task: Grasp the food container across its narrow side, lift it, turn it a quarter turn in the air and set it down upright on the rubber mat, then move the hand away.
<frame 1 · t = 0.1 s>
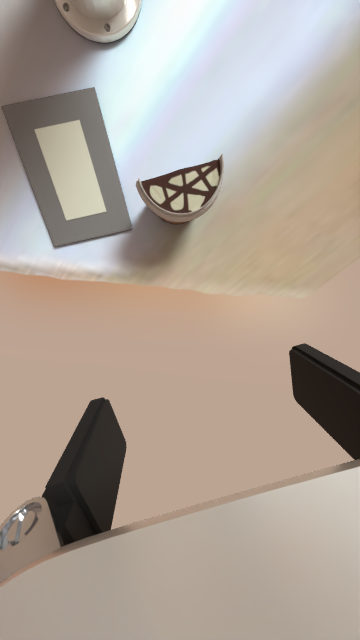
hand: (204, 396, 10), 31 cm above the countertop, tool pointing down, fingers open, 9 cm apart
mat: (74, 174, 33), on the countertop
food container: (179, 212, 36), on the countertop
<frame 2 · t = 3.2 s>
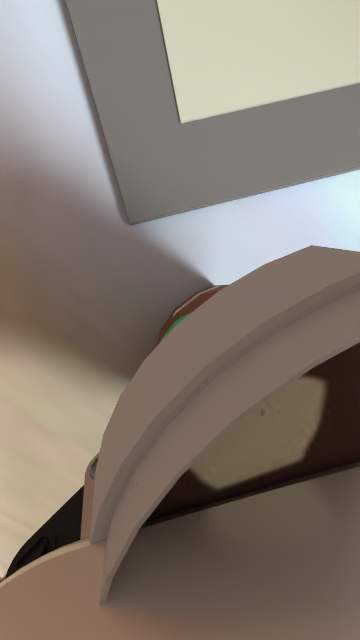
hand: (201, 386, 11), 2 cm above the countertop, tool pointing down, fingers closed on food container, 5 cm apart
mat: (302, 4, 9), on the countertop
food container: (185, 367, 13), on the countertop, touching gripper
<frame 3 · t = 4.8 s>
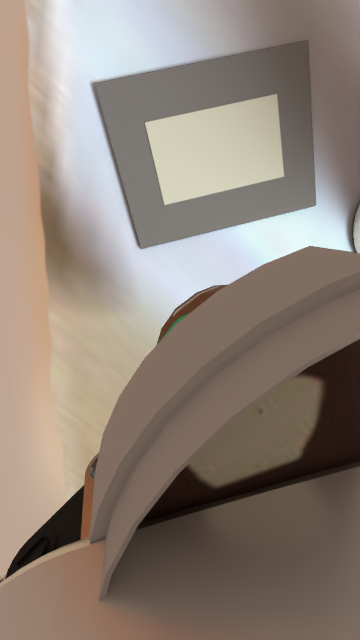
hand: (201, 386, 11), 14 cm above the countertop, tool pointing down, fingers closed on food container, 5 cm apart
mat: (217, 154, 20), on the countertop
food container: (185, 367, 13), point 11 cm above the countertop, touching gripper
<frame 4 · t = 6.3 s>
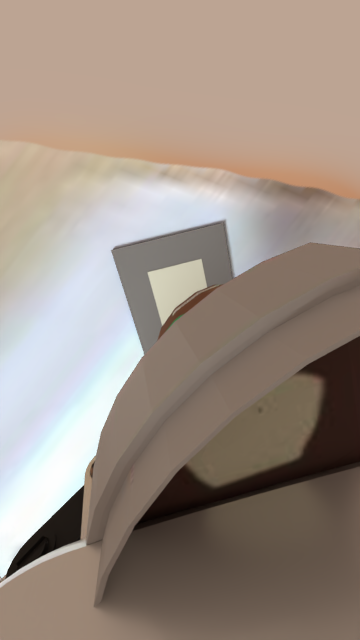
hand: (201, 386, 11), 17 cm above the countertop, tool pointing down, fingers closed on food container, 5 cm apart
mat: (185, 313, 27), on the countertop
food container: (185, 366, 13), point 15 cm above the countertop, touching gripper
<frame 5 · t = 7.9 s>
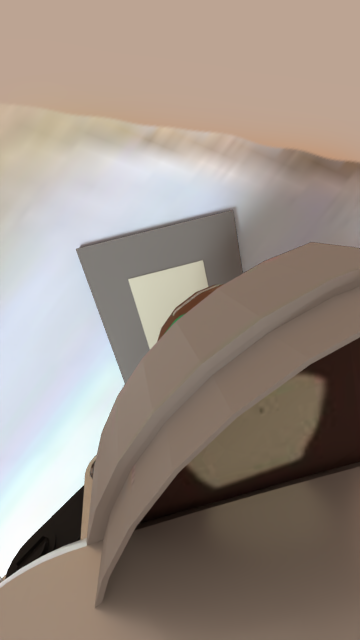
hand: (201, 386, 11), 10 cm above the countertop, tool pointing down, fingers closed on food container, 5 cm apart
mat: (181, 333, 20), on the countertop
food container: (185, 366, 13), point 7 cm above the countertop, touching gripper
when the fingers open (5 cm above the countertop, at t = 9.3 s): food container drops 2 cm, resting on mat.
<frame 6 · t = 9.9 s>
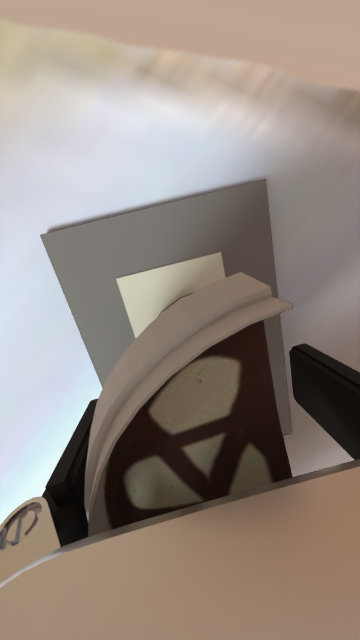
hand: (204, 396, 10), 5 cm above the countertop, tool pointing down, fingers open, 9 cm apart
mat: (190, 350, 15), on the countertop
food container: (170, 363, 15), resting on mat
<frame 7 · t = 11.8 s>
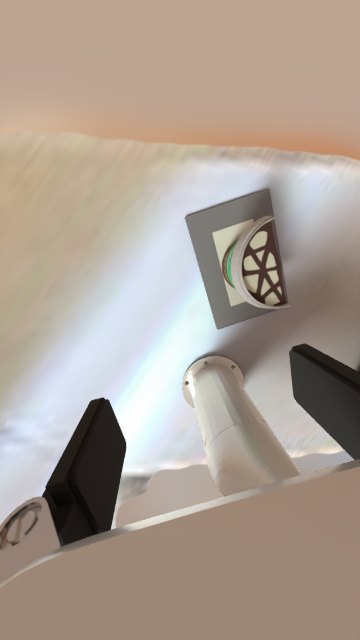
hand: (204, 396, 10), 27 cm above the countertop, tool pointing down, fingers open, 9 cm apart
mat: (240, 265, 35), on the countertop
food container: (232, 269, 35), resting on mat
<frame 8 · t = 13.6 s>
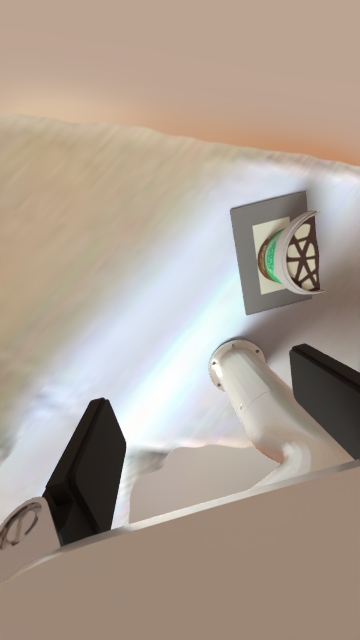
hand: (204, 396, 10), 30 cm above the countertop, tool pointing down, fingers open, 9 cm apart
mat: (273, 257, 39), on the countertop
food container: (266, 261, 38), resting on mat
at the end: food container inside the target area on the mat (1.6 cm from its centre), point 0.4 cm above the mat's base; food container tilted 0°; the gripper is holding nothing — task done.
